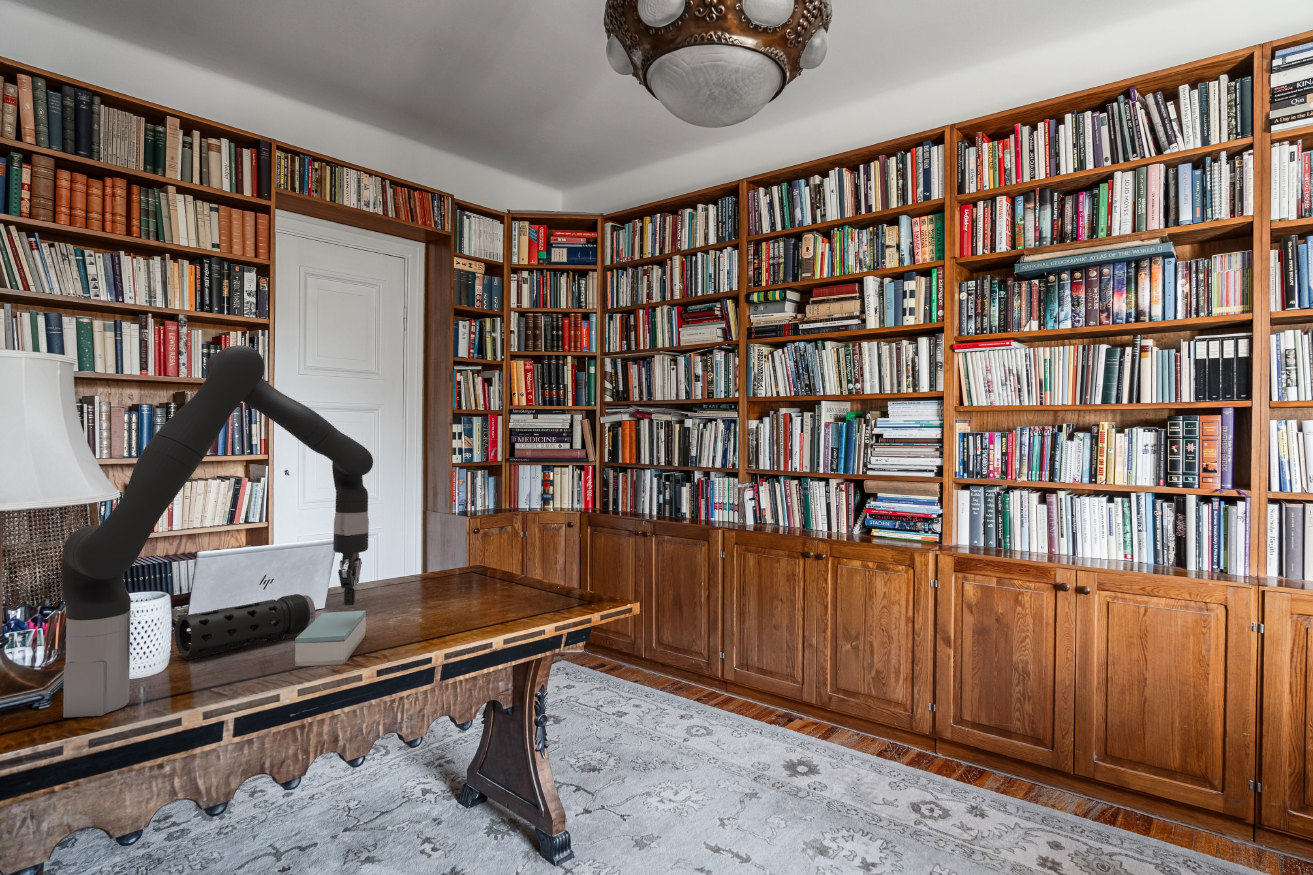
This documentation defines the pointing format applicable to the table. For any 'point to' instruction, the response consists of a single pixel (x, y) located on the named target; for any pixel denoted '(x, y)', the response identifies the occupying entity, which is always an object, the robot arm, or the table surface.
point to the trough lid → (331, 627)
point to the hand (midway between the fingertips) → (349, 604)
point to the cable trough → (329, 649)
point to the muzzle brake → (242, 625)
